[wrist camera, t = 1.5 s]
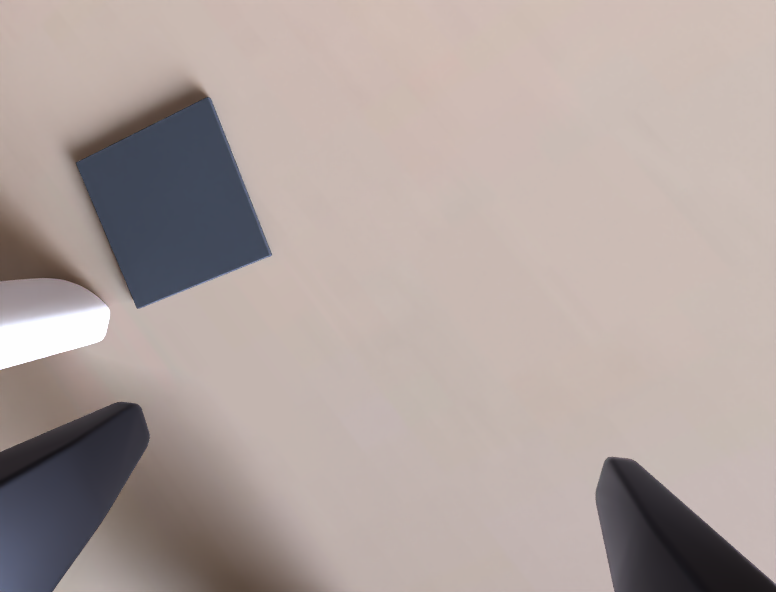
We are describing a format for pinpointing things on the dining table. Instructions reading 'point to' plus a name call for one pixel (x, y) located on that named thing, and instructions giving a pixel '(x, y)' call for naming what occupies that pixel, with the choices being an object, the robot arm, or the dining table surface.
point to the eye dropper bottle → (47, 319)
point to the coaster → (174, 205)
